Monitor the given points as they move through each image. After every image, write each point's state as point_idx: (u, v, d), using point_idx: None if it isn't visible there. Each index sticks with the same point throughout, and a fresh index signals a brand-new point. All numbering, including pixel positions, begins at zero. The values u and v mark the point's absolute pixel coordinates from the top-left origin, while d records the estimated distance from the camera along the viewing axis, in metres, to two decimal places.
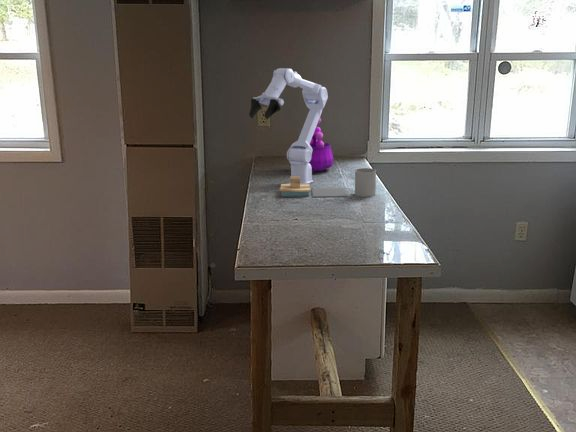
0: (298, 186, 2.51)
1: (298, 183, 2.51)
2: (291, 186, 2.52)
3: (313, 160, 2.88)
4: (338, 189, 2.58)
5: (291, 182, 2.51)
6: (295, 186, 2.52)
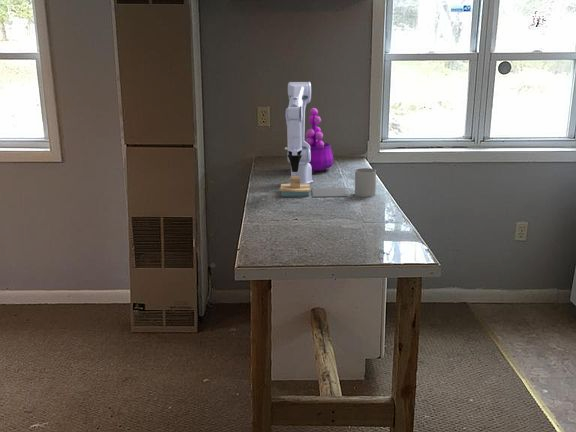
0: (298, 186, 2.51)
1: (298, 183, 2.51)
2: (291, 186, 2.52)
3: (313, 160, 2.88)
4: (338, 189, 2.58)
5: (291, 182, 2.51)
6: (295, 186, 2.52)
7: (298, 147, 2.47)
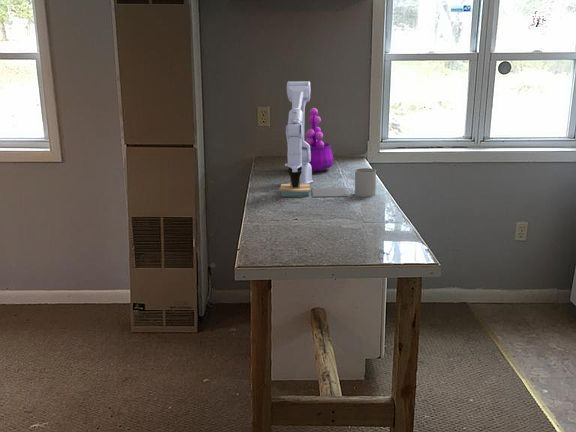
0: (298, 186, 2.51)
1: None
2: (291, 186, 2.52)
3: (313, 160, 2.88)
4: (338, 189, 2.58)
5: (291, 182, 2.51)
6: None
7: (298, 163, 2.48)
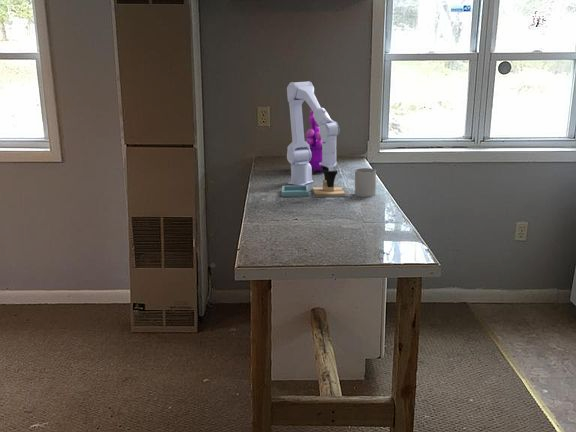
0: (332, 189, 2.52)
1: None
2: (325, 189, 2.52)
3: (313, 160, 2.88)
4: None
5: (325, 185, 2.51)
6: (329, 189, 2.52)
7: (333, 162, 2.48)
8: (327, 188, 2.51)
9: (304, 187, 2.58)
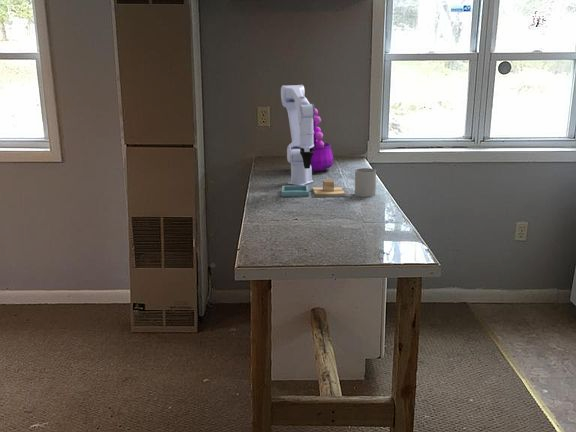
0: (332, 189, 2.52)
1: (332, 186, 2.51)
2: (325, 189, 2.52)
3: (313, 160, 2.88)
4: None
5: (325, 185, 2.51)
6: (329, 189, 2.52)
7: (310, 144, 2.51)
8: (327, 188, 2.51)
9: (304, 187, 2.58)
